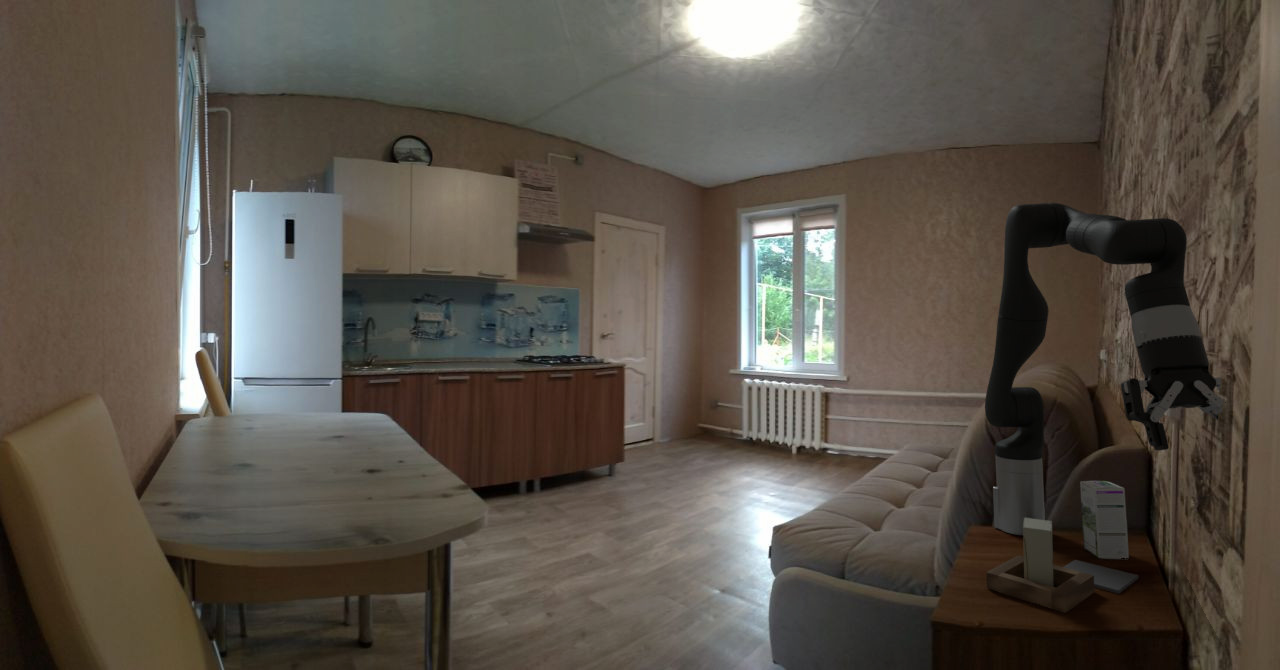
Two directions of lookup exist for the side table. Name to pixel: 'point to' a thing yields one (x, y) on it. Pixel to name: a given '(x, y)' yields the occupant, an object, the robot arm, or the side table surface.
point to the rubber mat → (1104, 576)
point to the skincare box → (1038, 551)
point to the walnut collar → (1041, 585)
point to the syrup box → (1104, 519)
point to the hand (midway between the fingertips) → (1196, 449)
